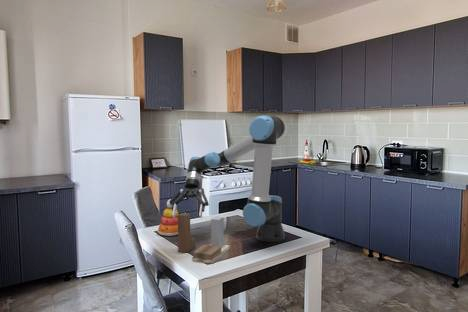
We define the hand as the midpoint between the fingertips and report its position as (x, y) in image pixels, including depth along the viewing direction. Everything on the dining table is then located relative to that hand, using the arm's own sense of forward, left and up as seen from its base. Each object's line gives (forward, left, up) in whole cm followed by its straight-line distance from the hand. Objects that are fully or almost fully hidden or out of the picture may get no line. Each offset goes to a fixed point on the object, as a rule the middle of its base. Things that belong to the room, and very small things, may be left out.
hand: (186, 216), depth 176 cm
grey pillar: (-17, +1, -13) cm, 21 cm away
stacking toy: (+18, -15, -15) cm, 28 cm away
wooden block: (-3, +6, -15) cm, 16 cm away
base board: (-17, +8, -15) cm, 24 cm away
